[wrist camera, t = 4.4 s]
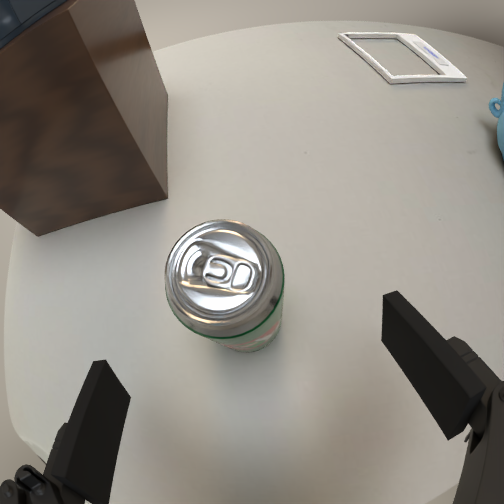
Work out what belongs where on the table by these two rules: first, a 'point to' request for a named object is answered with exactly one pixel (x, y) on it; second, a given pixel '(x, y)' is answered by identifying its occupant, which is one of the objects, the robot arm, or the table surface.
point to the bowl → (22, 16)
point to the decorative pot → (503, 120)
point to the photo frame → (415, 44)
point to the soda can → (226, 284)
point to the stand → (81, 117)
